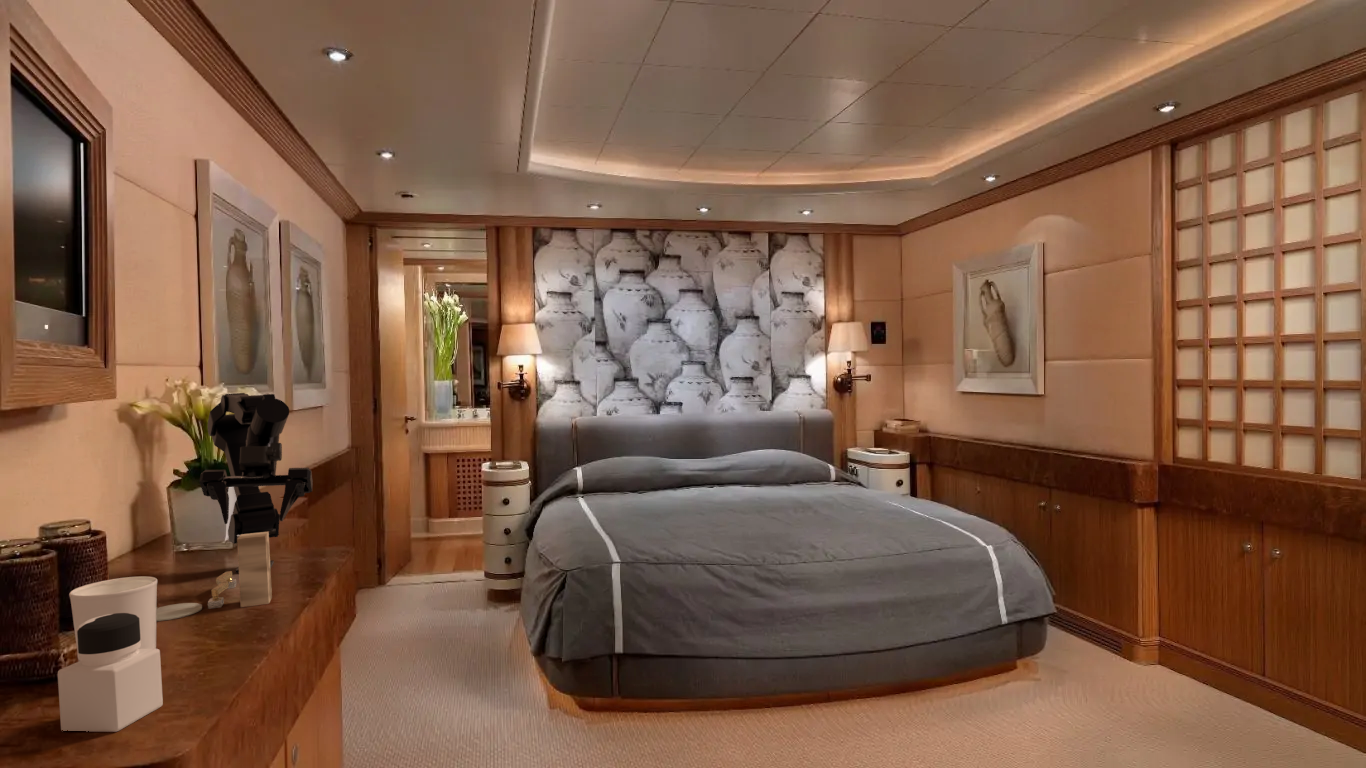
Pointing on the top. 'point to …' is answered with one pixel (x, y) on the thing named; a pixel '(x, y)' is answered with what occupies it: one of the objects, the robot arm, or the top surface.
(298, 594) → the top surface
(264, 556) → the maple peg
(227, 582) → the zigzag wooden handle
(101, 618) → the medicine bottle
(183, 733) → the top surface
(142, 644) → the candle holder
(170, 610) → the coaster
